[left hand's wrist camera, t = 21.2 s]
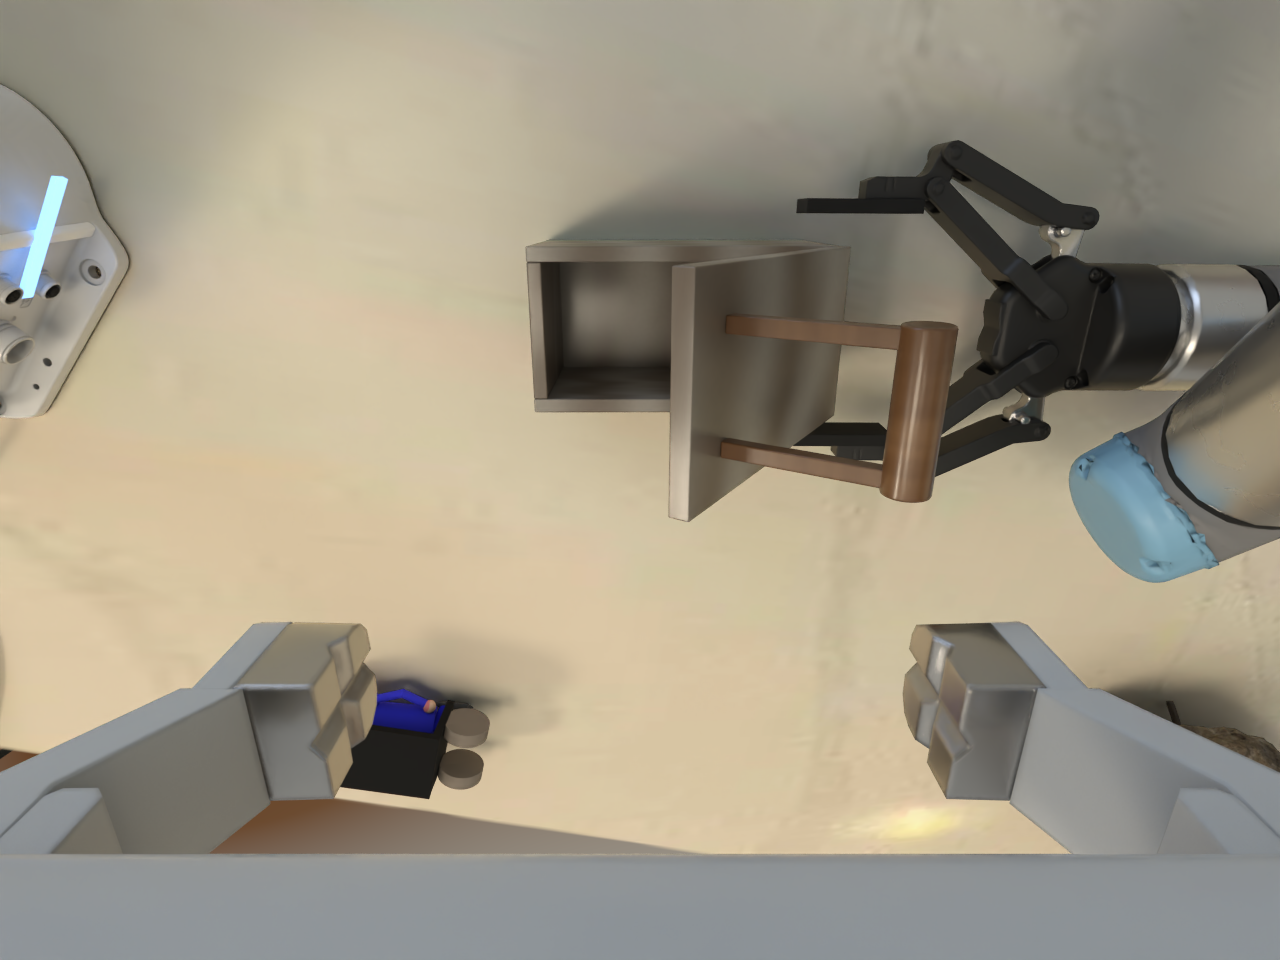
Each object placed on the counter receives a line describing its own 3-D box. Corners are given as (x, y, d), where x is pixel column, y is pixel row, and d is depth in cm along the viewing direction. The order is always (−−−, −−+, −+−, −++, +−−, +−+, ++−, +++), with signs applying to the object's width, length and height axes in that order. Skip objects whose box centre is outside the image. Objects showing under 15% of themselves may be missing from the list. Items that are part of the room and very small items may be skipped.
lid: (668, 517, 27) (905, 576, 22) (671, 265, 24) (950, 276, 19) (819, 413, 41) (983, 437, 37) (834, 246, 38) (1017, 250, 33)
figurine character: (496, 679, 61) (316, 661, 59) (489, 741, 54) (284, 724, 52) (486, 739, 64) (313, 724, 61) (477, 805, 57) (281, 792, 54)
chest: (554, 376, 51) (534, 412, 41) (548, 240, 47) (525, 246, 38) (790, 375, 51) (824, 412, 41) (800, 239, 47) (840, 245, 38)
